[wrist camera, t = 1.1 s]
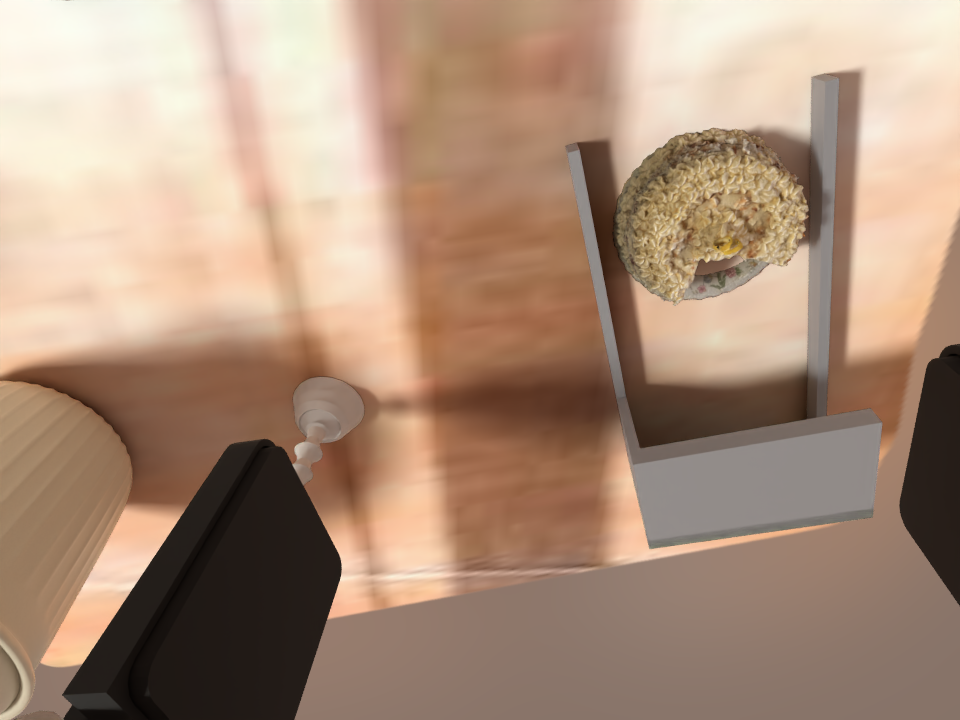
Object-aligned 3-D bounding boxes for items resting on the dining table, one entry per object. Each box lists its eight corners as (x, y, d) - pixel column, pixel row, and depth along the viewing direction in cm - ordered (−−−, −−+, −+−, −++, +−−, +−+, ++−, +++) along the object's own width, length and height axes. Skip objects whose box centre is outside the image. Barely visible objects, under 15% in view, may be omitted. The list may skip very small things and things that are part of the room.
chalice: (386, 379, 40) (309, 622, 25) (373, 451, 44) (299, 701, 28) (278, 355, 39) (132, 590, 24) (274, 430, 43) (145, 675, 28)
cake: (581, 182, 33) (590, 205, 28) (760, 82, 30) (804, 90, 25) (652, 324, 37) (669, 366, 32) (817, 248, 34) (864, 282, 29)
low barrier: (565, 145, 31) (578, 189, 25) (824, 73, 29) (915, 101, 22) (629, 463, 43) (649, 549, 37) (815, 431, 41) (872, 517, 34)
